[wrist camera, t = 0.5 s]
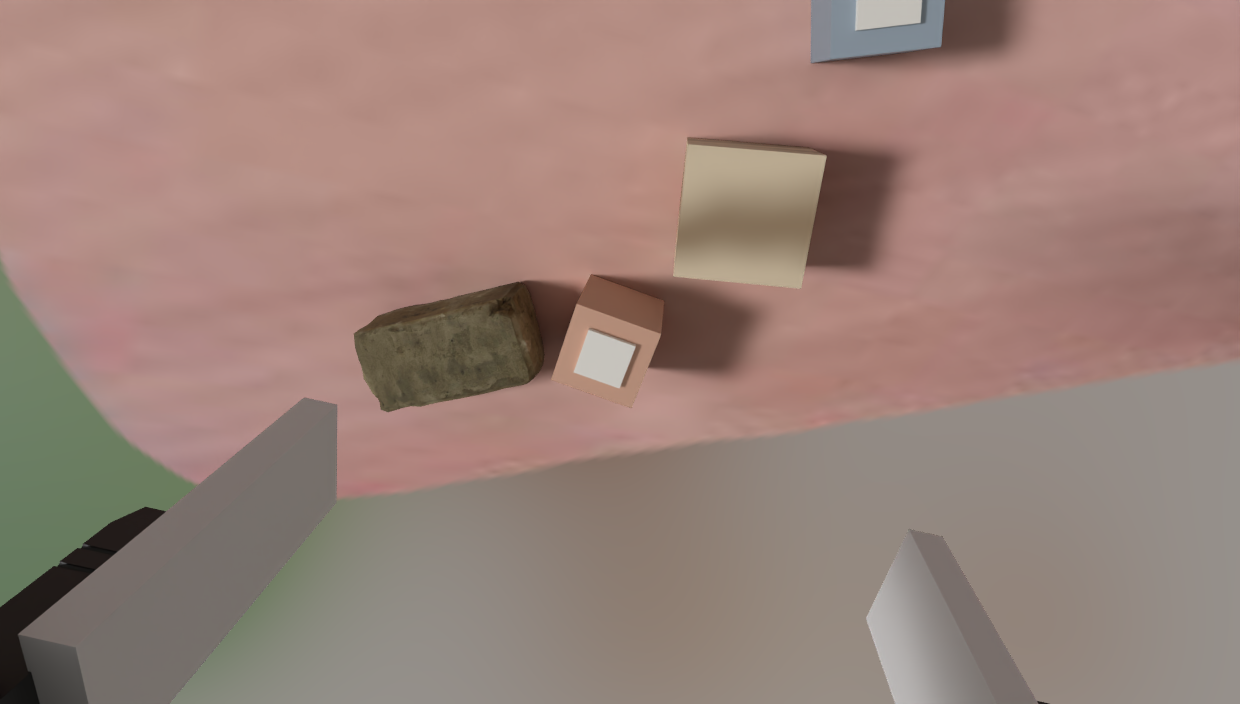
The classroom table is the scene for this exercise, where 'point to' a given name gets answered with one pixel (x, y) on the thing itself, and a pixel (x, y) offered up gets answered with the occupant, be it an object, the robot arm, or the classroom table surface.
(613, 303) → the terracotta block
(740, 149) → the oak block
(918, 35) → the slate block
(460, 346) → the stone block
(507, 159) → the classroom table surface
